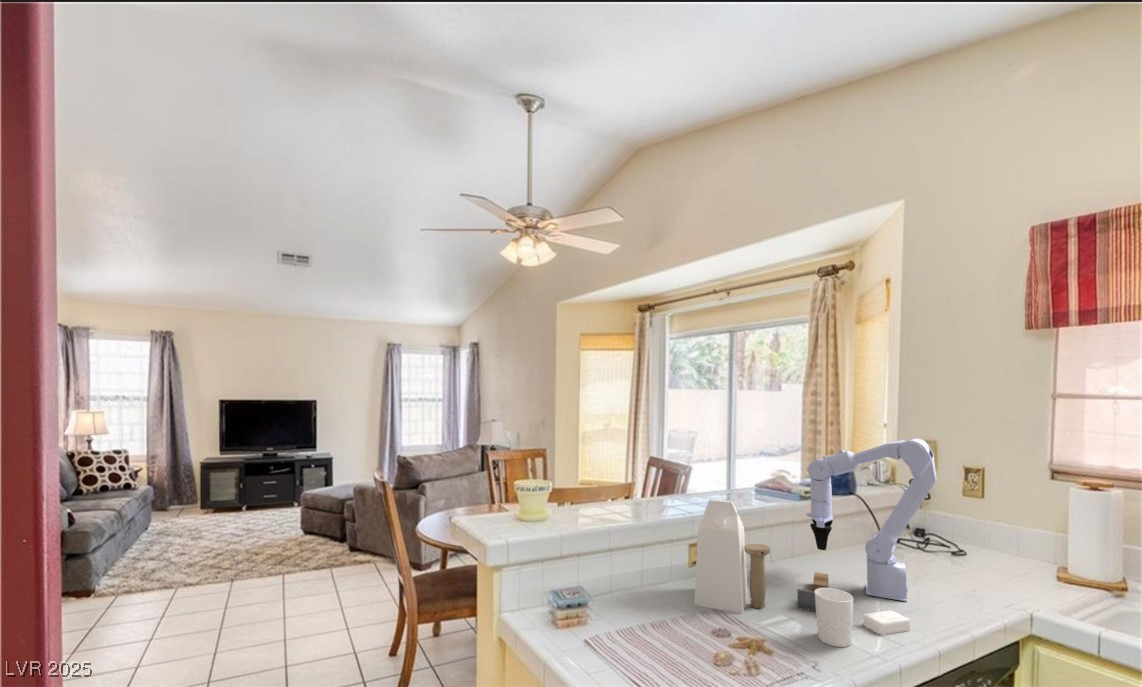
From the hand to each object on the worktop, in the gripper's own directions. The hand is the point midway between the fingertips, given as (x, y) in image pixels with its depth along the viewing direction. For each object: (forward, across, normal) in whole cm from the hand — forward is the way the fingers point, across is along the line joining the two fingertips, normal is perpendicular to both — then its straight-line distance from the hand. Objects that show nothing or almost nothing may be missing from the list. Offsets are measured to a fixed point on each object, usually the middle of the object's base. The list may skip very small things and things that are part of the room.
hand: (822, 546), depth 155 cm
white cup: (+10, +39, +4) cm, 40 cm away
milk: (+10, +30, -23) cm, 39 cm away
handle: (+10, +29, -14) cm, 34 cm away
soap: (+10, +26, +15) cm, 32 cm away
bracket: (+9, +21, 0) cm, 23 cm away
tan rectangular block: (+10, +10, 0) cm, 14 cm away
